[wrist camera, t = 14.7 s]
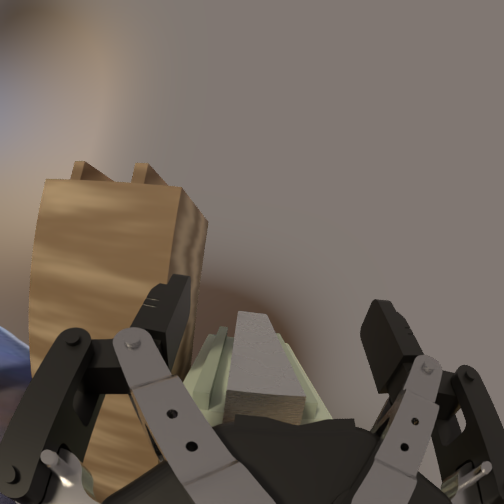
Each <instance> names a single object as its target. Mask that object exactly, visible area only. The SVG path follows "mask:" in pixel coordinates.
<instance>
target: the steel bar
mask: <svg viewBox="0 0 504 504" xmlns="http://www.w3.org/2000/svg"><path fill="white" fill-rule="evenodd" d="M305 401H306V395H305V393H304V390H303V388H302V386H301V384H300V382H299V380H298V378H297V376H296V374H295V372H294V370H293V368H292V366H291V364H290V362H289V360H288V358H287V356H286V354H285V351H284V349H283V347H282V345H281V343H280V341H279V339H278V337H277V335H276V333H275V331H274V329H273V327H272V324H271V322H270V320H269V318H268V316H267V314H259V313H251V312H243V311H238V317H237V323H236V330H235V337H234V343H233V350H232V357H231V364H230V370H229V377H228V384H227V391H226V399H225V407H224V415H223V423H229V422H234V418H235V414H240V415H249V416H260V417H268V418H271V419H275V420H278V421H282V422H286V423H290V424H294V425H300V423H301V418H302V414H303V410H304V405H305Z"/></svg>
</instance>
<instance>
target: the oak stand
mask: <svg viewBox="0 0 504 504" xmlns="http://www.w3.org/2000/svg"><path fill="white" fill-rule="evenodd" d="M207 228H208V221H207V220H206V219H205V217H204V216H203V214H202V213H201V212H200V211H199V209H198V208H197V207H196V206H195V204H194V203H193V201H192V200H191V199H190V198H189V196H188V195H187V194H186V193H185V191H184V190H183V188H182V187H174V186H168V185H167V184H166V183H165V181H164V180H163V179H162V178H161V177H160V176H159V175H158V174H157V173H156V172H155V170H154V169H153V168H152V167H151V166H150V165H149V164H148V163H135V168H134V172H133V176H132V181H131V183H125V182H114V181H113V180H111V179H110V178H108V177H107V176H105V175H104V174H103V173H101V172H100V171H98V170H97V169H95V168H94V167H92V166H91V165H90V164H88V163H87V162H85V161H75V163H74V167H73V171H72V175H71V179H70V180H66V179H65V180H64V179H46V182H45V186H44V190H43V194H42V199H41V203H40V208H39V214H38V220H37V226H36V231H35V239H34V246H33V254H32V264H31V275H30V291H29V347H30V362H31V373H32V378H33V377H34V375H35V373H36V371H37V370H38V368H39V366H40V364H41V363H42V361H43V359H44V358H45V356H46V354H47V353H48V351H49V349H50V348H51V346H52V344H53V343H54V341H55V340H56V338H57V337H58V335H59V334H60V333H61V332H63V331H64V330H66V329H69V328H74V327H77V328H82V329H85V330H86V331H88V333H89V334H90V336H91V339H113V338H114V336H115V335H116V334H117V333H118V332H119V331H121V330H123V329H126V328H130V326H131V324H132V322H133V320H134V319H135V317H136V315H137V313H138V311H139V309H140V308H141V306H142V305H143V302H144V301H145V299H146V298H147V295H148V294H149V292H150V290H151V289H152V288H153V287H155V286H156V285H158V284H159V283H162V284H168V282H169V280H170V278H171V276H172V274H180V275H186V276H190V277H191V305H190V314H189V319H188V322H187V325H186V328H185V331H184V334H183V337H182V340H181V343H180V346H179V349H178V352H177V355H176V358H175V362H174V365H173V368H172V371H171V374H172V375H175V374H176V375H178V377H179V378H180V379H181V381H182V382H184V380H185V378H186V376H187V374H188V372H189V370H190V369H191V360H192V349H193V339H194V330H195V321H196V312H197V303H198V295H199V287H200V279H201V271H202V263H203V256H204V249H205V242H206V235H207ZM159 463H160V462H159V460H158V459H157V457H156V455H155V453H154V451H153V449H152V447H151V445H150V443H149V441H148V439H147V436H146V434H145V432H144V430H143V428H142V426H141V423H140V421H139V419H138V417H137V415H136V413H135V410H134V408H133V406H132V404H131V401H130V399H129V397H128V394H106V395H105V398H104V401H103V403H102V406H101V409H100V412H99V415H98V417H97V420H96V423H95V426H94V429H93V432H92V435H91V438H90V441H89V444H88V448H87V451H86V454H85V457H84V461H83V464H84V466H85V467H86V468H87V469H88V470H89V471H90V473H91V474H92V477H93V482H94V483H93V492H94V495H95V498H96V499H97V501H98V502H99V503H100V504H101V503H102V502H103V501H104V500H105V499H106V498H107V497H108V496H110V495H111V494H113V493H114V492H116V491H118V490H119V489H121V488H123V487H124V486H126V485H127V484H129V483H130V482H132V481H134V480H135V479H137V478H138V477H140V476H141V475H143V474H144V473H146V472H147V471H149V470H150V469H152V468H153V467H154V466H156V465H157V464H159Z"/></svg>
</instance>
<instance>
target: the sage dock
mask: <svg viewBox="0 0 504 504" xmlns="http://www.w3.org/2000/svg"><path fill="white" fill-rule="evenodd" d="M227 330H228V328H227V327H221V326H220V328H219V330H218V332H217V335H211V334H209V335H208V337H207V339H206V341H205V343H204V344H203V346H202V348H201V350H200V352H199V354H198V356H197V357H196V359H195V361H194V363H193V365H192V367H191V369H190V370H189V372H188V374H187V376H186V378H185V380H184V382H183V384H184V386H185V387H186V389H187V391H188V392H189V394H190V395H191V397H192V398H193V400H194V402H195V403H196V405H197V406H198V408H199V409H200V411H201V412H202V414H203V415H204V417H205V418H206V420H207V421H208V423H209V424H210V426H211V427H213V426H216V425H219V424H223V415H224V407H225V399H226V391H227V384H228V377H229V370H230V364H231V357H232V350H233V343H234V338H233V337H227ZM276 335H277V337H278V339H279V341H280V343H281V345H282V347H283V349H284V351H285V354H286V356H287V358H288V360H289V362H290V364H291V366H292V368H293V370H294V372H295V374H296V376H297V378H298V380H299V382H300V384H301V386H302V388H303V390H304V393H305V395H306V401H305V405H304V410H303V414H302V418H301V423H300V425H303V424H308V423H313V422H317V421H322V420H326V419H333V418H332V417H331V415H330V413H329V412H328V410H327V408H326V407H325V405H324V403H323V402H322V400H321V398H320V397H319V395H318V393H317V392H316V390H315V388H314V387H313V385H312V383H311V382H310V380H309V378H308V377H307V375H306V374H305V372H304V370H303V368H302V366H301V365H300V363H299V361H298V360H297V358H296V356H295V355H294V353H293V351H292V350H291V348H290V346H289V344H286V343H285V342H284V341H283V339H282V337H281V335H280V334H278V333H276Z"/></svg>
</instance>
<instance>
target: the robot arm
mask: <svg viewBox="0 0 504 504" xmlns="http://www.w3.org/2000/svg"><path fill="white" fill-rule="evenodd" d="M190 305H191V277H190V276H186V275H180V274H172V276H171V278H170V280H169V282H168V284H162V283H159V284H158V285H156V286H155V287H153V288H152V289H151V290H150V292H149V294H148V295H147V298H146V299H145V301H144V302H143V305H142V306H141V308H140V309H139V311H138V313H137V315H136V317H135V319H134V320H133V322H132V324H131V326H130V328H126V329H123V330H121V331H119V332H118V333H117V334H116V335H115V336H114V338H113V339H91V336H90V334H89V333H88V331H86V330H85V329H82V328H77V327H74V328H69V329H66V330H64V331H63V332H61V333H60V334H59V335H58V337H57V338H56V340H55V341H54V343H53V344H52V346H51V348H50V349H49V351H48V353H47V354H46V356H45V358H44V359H43V361H42V363H41V364H40V366H39V368H38V370H37V371H36V373H35V375H34V377H33V378H32V380H31V382H30V384H29V386H28V388H27V389H26V391H25V393H24V395H23V397H22V399H21V401H20V403H19V405H18V407H17V409H16V411H15V413H14V415H13V417H12V419H11V421H10V423H9V425H8V428H7V430H6V432H5V434H4V437H3V439H2V441H1V444H0V492H1V493H2V494H4V495H5V496H7V497H9V498H10V499H12V500H14V501H15V502H16V503H18V504H100V503H99V502H98V501H97V499H96V498H95V495H94V492H93V483H94V482H93V477H92V474H91V473H90V471H89V470H88V469H87V468H86V467H85V466H84V464H83V461H84V457H85V454H86V451H87V448H88V444H89V441H90V438H91V435H92V432H93V429H94V426H95V423H96V420H97V417H98V415H99V412H100V409H101V406H102V403H103V401H104V398H105V395H106V394H128V397H129V399H130V401H131V404H132V406H133V408H134V410H135V413H136V415H137V417H138V419H139V421H140V423H141V426H142V428H143V430H144V432H145V434H146V436H147V439H148V441H149V443H150V445H151V447H152V449H153V451H154V453H155V455H156V457H157V459H158V460H159V462H160V463H159V464H157V465H156V466H154V467H153V468H152V469H150V470H149V471H147V472H146V473H144V474H143V475H141V476H140V477H138V478H137V479H135V480H134V481H132V482H130V483H129V484H127V485H126V486H124V487H123V488H121V489H119V490H118V491H116V492H114V493H113V494H111V495H110V496H108V497H107V498H106V499H105V500H104V501H103V502H102V503H101V504H504V429H503V426H502V424H501V421H500V419H499V416H498V414H497V412H496V410H495V407H494V405H493V403H492V401H491V398H490V396H489V394H488V392H487V390H486V387H485V385H484V384H483V382H482V379H481V377H480V375H479V374H478V372H477V371H476V370H475V369H474V368H472V367H470V366H468V365H462V366H460V367H459V368H458V369H457V370H456V372H455V373H452V372H447V371H443V370H442V367H441V365H440V364H439V363H438V361H437V360H435V359H434V358H432V357H430V356H427V355H424V354H423V352H422V350H421V348H420V346H419V344H418V342H417V340H416V338H415V336H414V335H413V332H412V330H411V329H410V327H409V325H408V323H407V321H406V319H405V318H403V316H402V315H400V314H399V313H398V312H396V310H395V308H394V307H393V305H392V303H391V302H390V301H386V300H376V299H375V300H373V301H372V303H371V305H370V308H369V310H368V312H367V315H366V317H365V319H364V322H363V324H362V326H361V331H360V337H361V341H362V344H363V347H364V350H365V353H366V356H367V359H368V362H369V365H370V368H371V371H372V374H373V378H374V380H375V384H376V387H377V391H378V393H379V394H382V393H389V398H388V399H387V400H386V402H385V404H384V406H383V408H382V410H381V412H380V414H379V416H378V418H377V419H376V421H375V423H374V425H373V427H372V429H371V430H370V431H367V430H365V429H362V428H359V427H355V422H354V419H326V420H322V421H317V422H313V423H308V424H303V425H294V424H290V423H286V422H282V421H278V420H275V419H271V418H268V417H260V416H249V415H240V414H235V418H234V422H229V423H223V424H219V425H216V426H213V427H211V426H210V424H209V423H208V421H207V420H206V418H205V417H204V415H203V414H202V412H201V411H200V409H199V408H198V406H197V405H196V403H195V402H194V400H193V398H192V397H191V395H190V394H189V392H188V391H187V389H186V387H185V386H184V384H183V382H182V381H181V379H180V378H179V377H178V375H176V374H175V375H172V374H171V371H172V368H173V365H174V362H175V358H176V355H177V352H178V349H179V346H180V343H181V340H182V337H183V334H184V331H185V328H186V325H187V322H188V319H189V314H190ZM460 408H461V409H462V411H463V414H464V417H465V420H466V427H465V430H464V431H463V432H462V433H461V430H460V427H459V424H458V421H457V418H456V415H455V414H456V413H457V411H458V410H459V409H460ZM430 437H432V441H433V445H434V448H435V453H436V457H437V461H438V465H439V469H440V474H441V479H442V485H441V490H440V489H439V488H437V487H436V486H435V485H434V484H433V483H431V482H430V481H429V480H428V479H427V478H425V477H424V476H423V475H422V474H421V473H419V472H418V469H419V467H420V464H421V462H422V459H423V456H424V454H425V451H426V448H427V446H428V443H429V440H430Z"/></svg>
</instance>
